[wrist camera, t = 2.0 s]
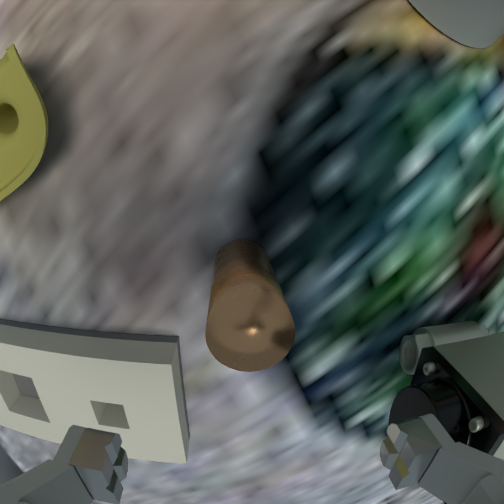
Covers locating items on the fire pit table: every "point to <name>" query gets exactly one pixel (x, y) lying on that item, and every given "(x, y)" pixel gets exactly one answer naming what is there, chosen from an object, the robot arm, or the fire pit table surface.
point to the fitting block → (95, 387)
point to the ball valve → (456, 383)
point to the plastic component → (19, 123)
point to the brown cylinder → (247, 310)
